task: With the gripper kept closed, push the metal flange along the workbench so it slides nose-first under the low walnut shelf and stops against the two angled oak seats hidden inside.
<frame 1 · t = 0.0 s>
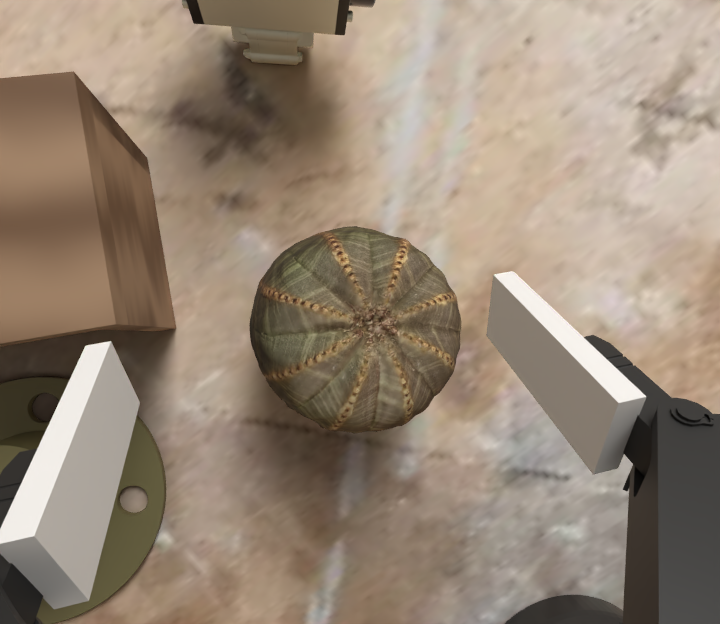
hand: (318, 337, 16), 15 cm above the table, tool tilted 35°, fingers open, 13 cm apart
pneumatic valve: (274, 38, 32), on the table
green ball cactus: (341, 328, 32), on the table
flange: (45, 494, 29), on the table
shelf: (4, 277, 29), on the table
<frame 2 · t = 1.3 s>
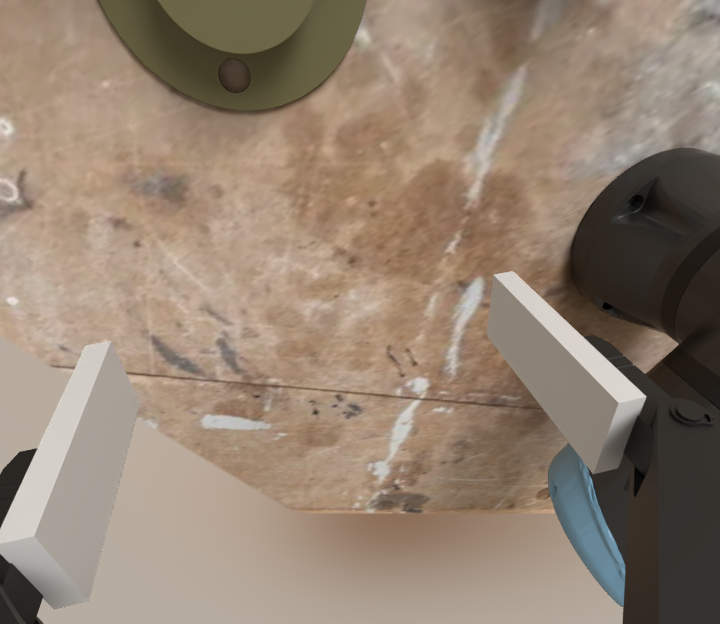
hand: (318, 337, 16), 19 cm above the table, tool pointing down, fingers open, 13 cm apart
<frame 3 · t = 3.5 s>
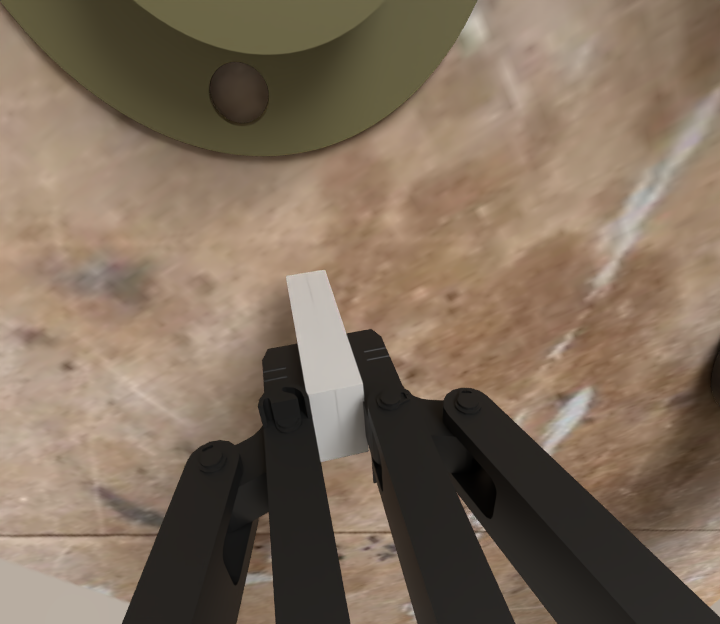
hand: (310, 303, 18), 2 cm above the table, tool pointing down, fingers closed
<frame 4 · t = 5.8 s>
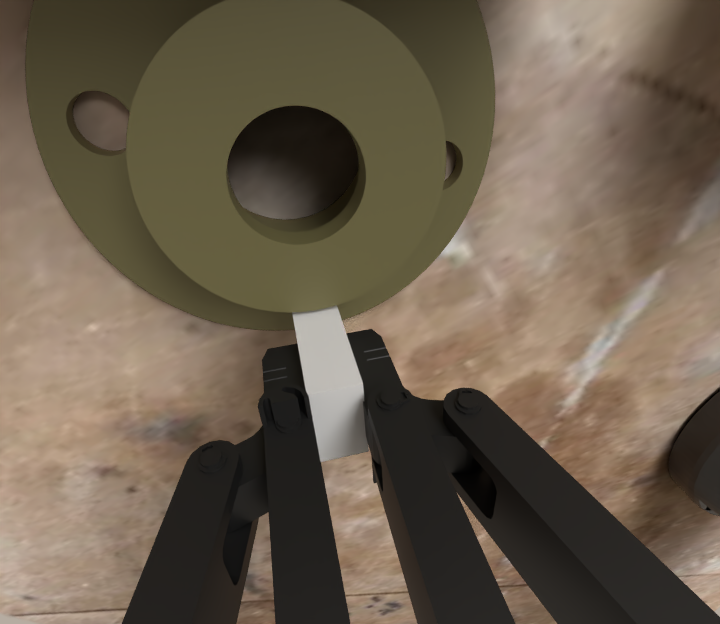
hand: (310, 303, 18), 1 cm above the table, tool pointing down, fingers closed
flange: (284, 140, 16), on the table
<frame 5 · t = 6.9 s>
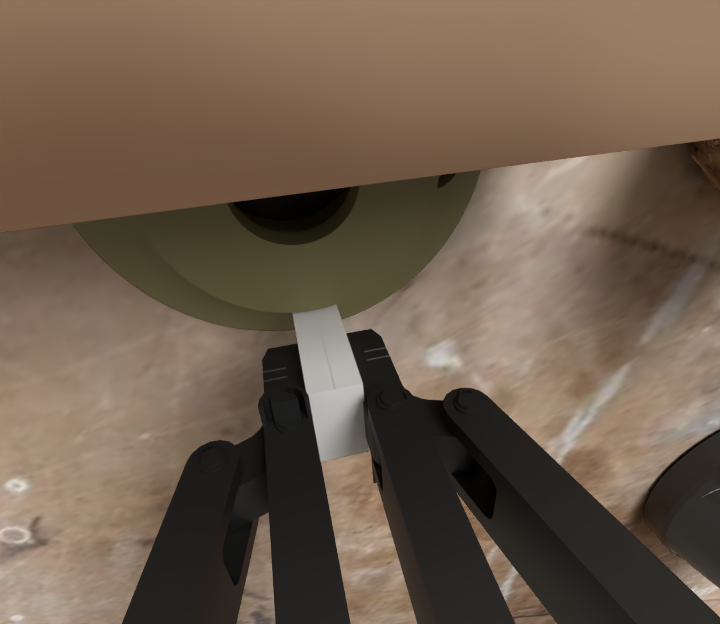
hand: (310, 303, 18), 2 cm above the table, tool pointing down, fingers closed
flange: (280, 140, 16), on the table, touching gripper
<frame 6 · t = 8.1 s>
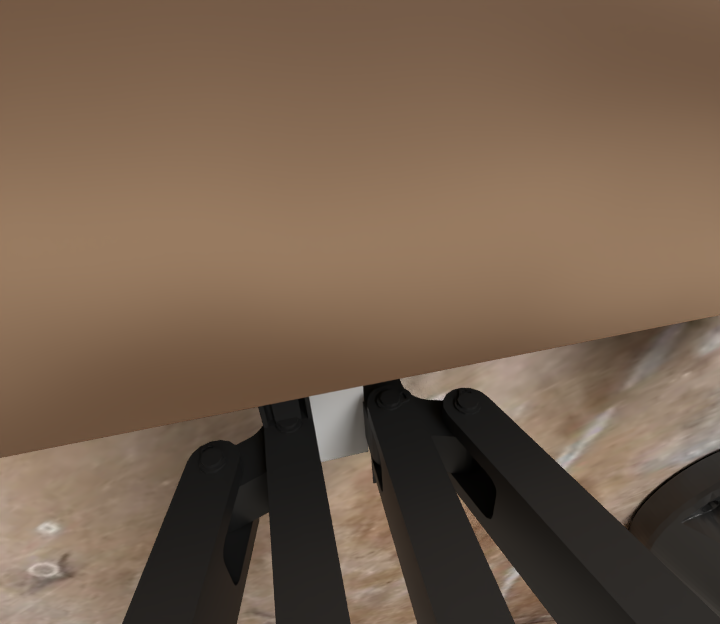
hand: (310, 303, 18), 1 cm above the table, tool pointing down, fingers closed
shelf: (273, 42, 14), on the table
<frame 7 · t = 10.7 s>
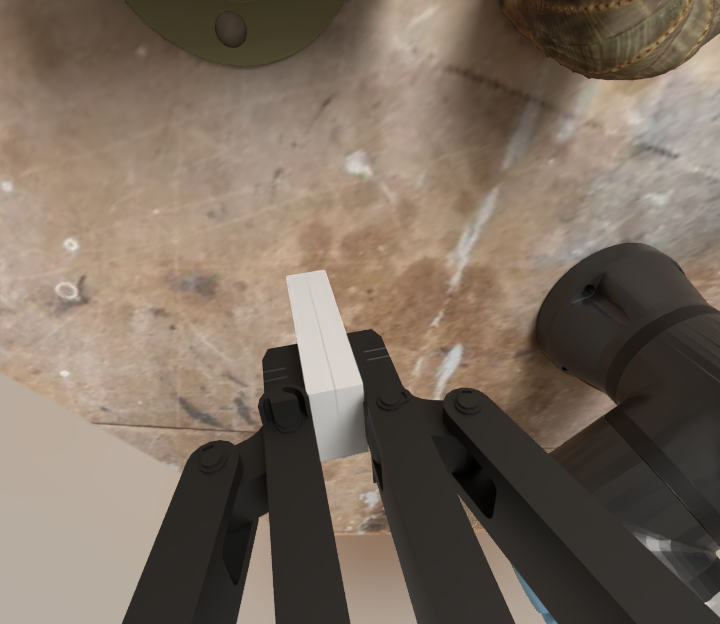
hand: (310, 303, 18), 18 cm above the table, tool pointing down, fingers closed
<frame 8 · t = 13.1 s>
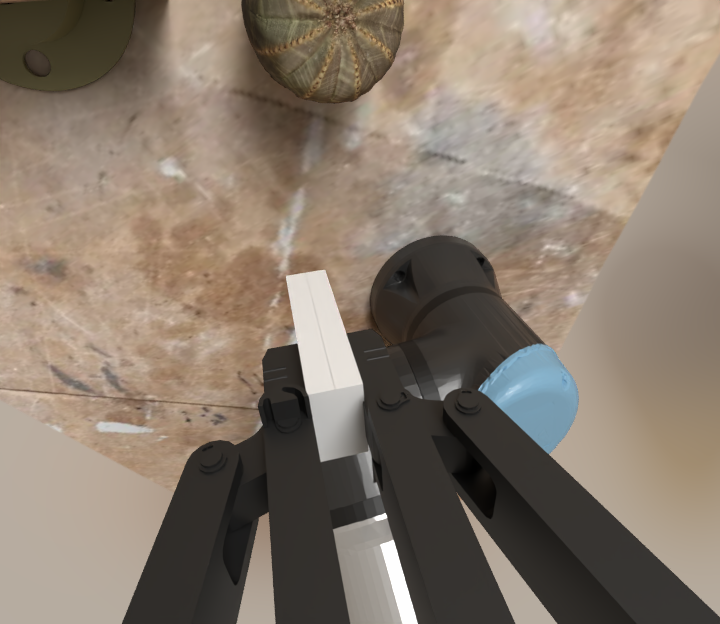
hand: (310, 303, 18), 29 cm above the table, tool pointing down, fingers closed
green ball cactus: (310, 16, 38), on the table
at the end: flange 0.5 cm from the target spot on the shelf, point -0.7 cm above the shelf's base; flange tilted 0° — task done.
